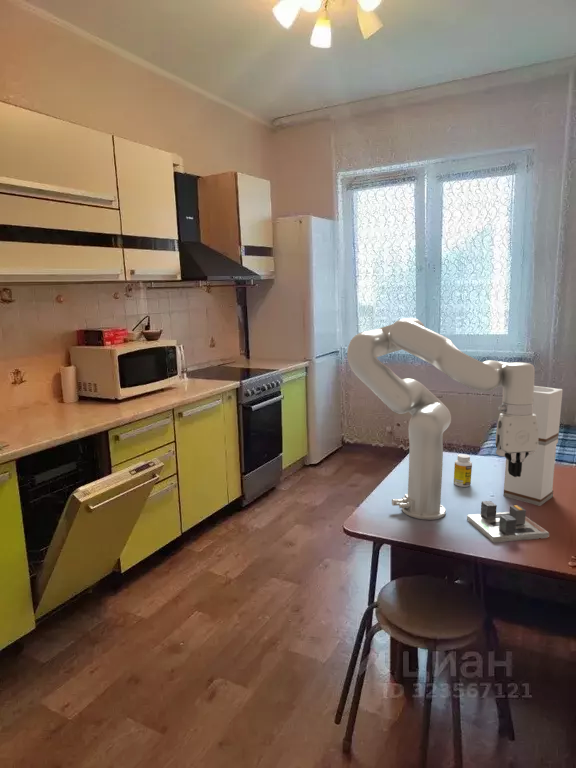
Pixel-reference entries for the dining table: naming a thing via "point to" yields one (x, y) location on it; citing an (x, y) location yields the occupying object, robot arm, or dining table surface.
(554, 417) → the tall open white box
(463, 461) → the supplement bottle
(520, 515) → the block
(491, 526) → the panel
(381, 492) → the dining table surface
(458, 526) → the dining table surface
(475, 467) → the dining table surface
